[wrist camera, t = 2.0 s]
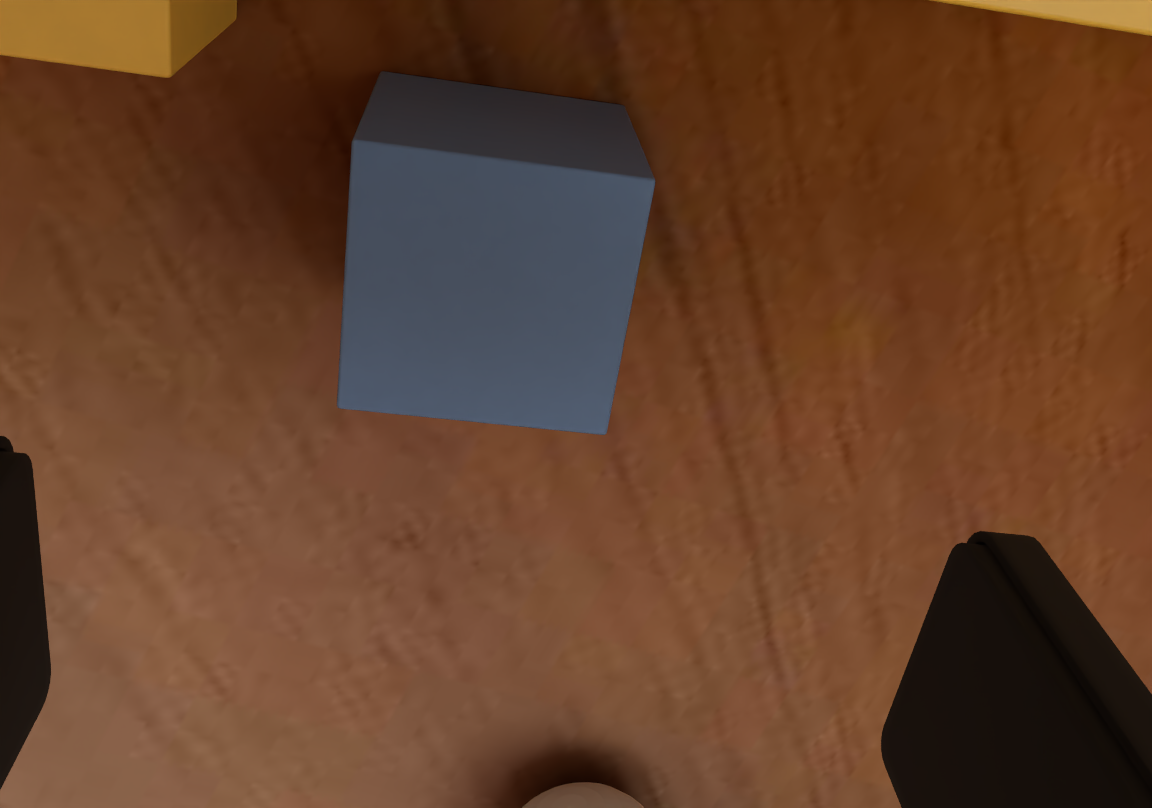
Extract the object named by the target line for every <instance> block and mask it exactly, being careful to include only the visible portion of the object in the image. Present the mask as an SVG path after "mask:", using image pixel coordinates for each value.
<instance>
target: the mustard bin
mask: <svg viewBox="0 0 1152 808" xmlns="http://www.w3.org/2000/svg"><path fill="white" fill-rule="evenodd" d="M930 1H936V2H942V3H948V4H955V5H961V6H967V7H973V8H980V9H986V10H992V11H998V12H1005V13H1011V14H1017V15H1023V16H1030V17H1036V18H1042V19H1048V20H1055V21H1061V22H1067V23H1073V24H1080V25H1086V26H1092V27H1099V28H1105V29H1111V30H1117V31H1124V32H1130V33H1136V34H1142V35H1149V36H1152V0H930Z"/></svg>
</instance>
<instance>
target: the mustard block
mask: <svg viewBox="0 0 1152 808" xmlns="http://www.w3.org/2000/svg"><path fill="white" fill-rule="evenodd" d="M236 18H237V0H0V55H4V56H11V57H18V58H26V59H33V60H40V61H48V62H55V63H62V64H70V65H77V66H84V67H92V68H99V69H106V70H114V71H121V72H128V73H135V74H143V75H150V76H157V77H165V78H169V77H171V76H173V75H174V74H175V73H176V72H177V71H178V70H179V69H181V68H182V67H183V66H184V65H185V64H186V63H187V62H188V61H190V60H191V59H192V58H193V57H194V56H195V55H196V54H198V53H199V52H200V51H201V50H202V49H203V48H204V47H206V46H207V45H208V44H209V43H210V42H211V41H212V40H214V39H215V38H216V37H217V36H218V35H219V34H220V33H222V32H223V31H224V30H225V29H226V28H227V27H228V26H230V25H231V24H232V23H233V22H234V21H235V20H236Z"/></svg>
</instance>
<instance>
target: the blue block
mask: <svg viewBox="0 0 1152 808" xmlns="http://www.w3.org/2000/svg"><path fill="white" fill-rule="evenodd" d="M654 187H655V178H654V176H653V174H652V171H651V169H650V166H649V164H648V162H647V159H646V157H645V154H644V152H643V150H642V147H641V145H640V142H639V140H638V138H637V135H636V133H635V131H634V128H633V126H632V123H631V121H630V119H629V116H628V114H627V111H626V109H625V107H624V106H623V105H618V104H611V103H604V102H597V101H590V100H583V99H576V98H569V97H561V96H554V95H547V94H540V93H533V92H526V91H519V90H512V89H505V88H498V87H491V86H483V85H476V84H469V83H462V82H455V81H448V80H441V79H434V78H427V77H420V76H412V75H405V74H398V73H391V72H384V71H382V72H380V74H379V76H378V79H377V81H376V84H375V86H374V89H373V91H372V94H371V96H370V99H369V101H368V103H367V106H366V108H365V111H364V113H363V116H362V118H361V121H360V123H359V126H358V128H357V130H356V133H355V135H354V138H353V140H352V148H351V165H350V183H349V201H348V218H347V236H346V253H345V271H344V289H343V306H342V324H341V341H340V359H339V377H338V394H337V406H338V408H341V409H351V410H361V411H371V412H381V413H391V414H401V415H411V416H421V417H431V418H441V419H451V420H461V421H471V422H481V423H491V424H501V425H511V426H520V427H530V428H540V429H550V430H560V431H570V432H580V433H590V434H600V435H605V434H606V432H607V428H608V423H609V418H610V413H611V408H612V403H613V398H614V392H615V387H616V382H617V377H618V372H619V367H620V362H621V356H622V351H623V346H624V341H625V336H626V331H627V326H628V320H629V315H630V310H631V305H632V300H633V295H634V290H635V285H636V279H637V274H638V269H639V264H640V259H641V254H642V249H643V243H644V238H645V233H646V228H647V223H648V218H649V213H650V207H651V202H652V197H653V192H654Z"/></svg>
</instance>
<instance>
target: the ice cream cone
mask: <svg viewBox="0 0 1152 808" xmlns="http://www.w3.org/2000/svg"><path fill="white" fill-rule="evenodd" d="M522 808H644V807H643V806H642V805H641V804H640V803H639V802H638V801H636V800H635V799H634V798H632V797H631V796H630V795H627V794H625V793H623V792H621V791H619V790H617V789H615V788H613V787H611V786H607V785H604V784H600V783H591V782H579V783H570V784H564V785H561V786H557V787H554V788H552V789H549V790H547V791H545V792H543V793H541V794H539V795H538V796H536V797H534V798H533V799H531V800H530V801H529V802H528V803H527V804H525V805H524V806H523V807H522Z"/></svg>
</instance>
